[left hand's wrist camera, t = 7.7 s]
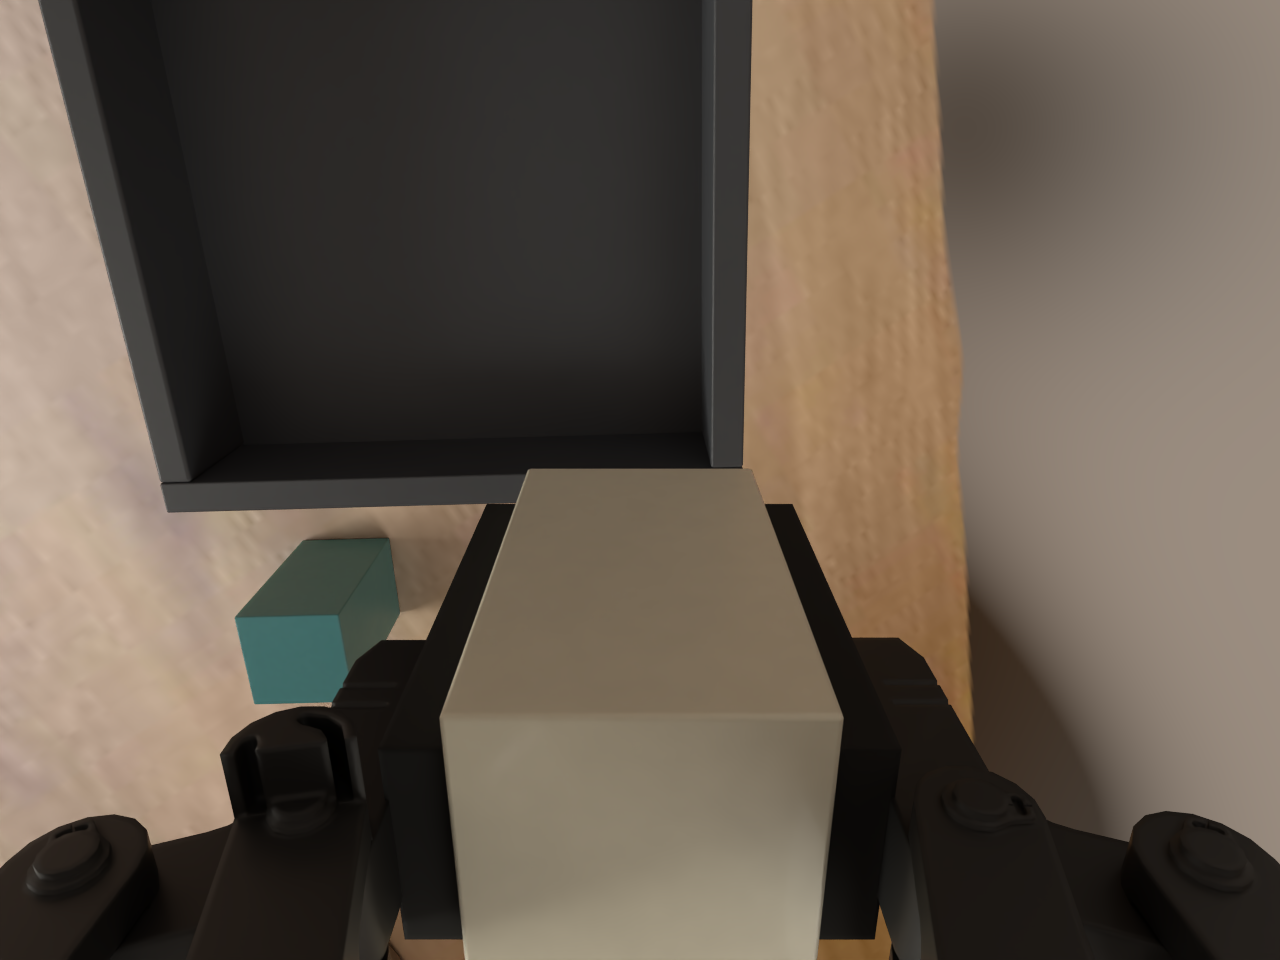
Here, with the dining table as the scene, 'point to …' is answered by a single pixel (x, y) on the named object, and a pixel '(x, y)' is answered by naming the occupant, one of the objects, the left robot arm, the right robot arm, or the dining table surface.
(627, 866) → the cream block
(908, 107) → the dining table surface
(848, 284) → the dining table surface
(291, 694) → the teal block
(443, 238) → the pan
